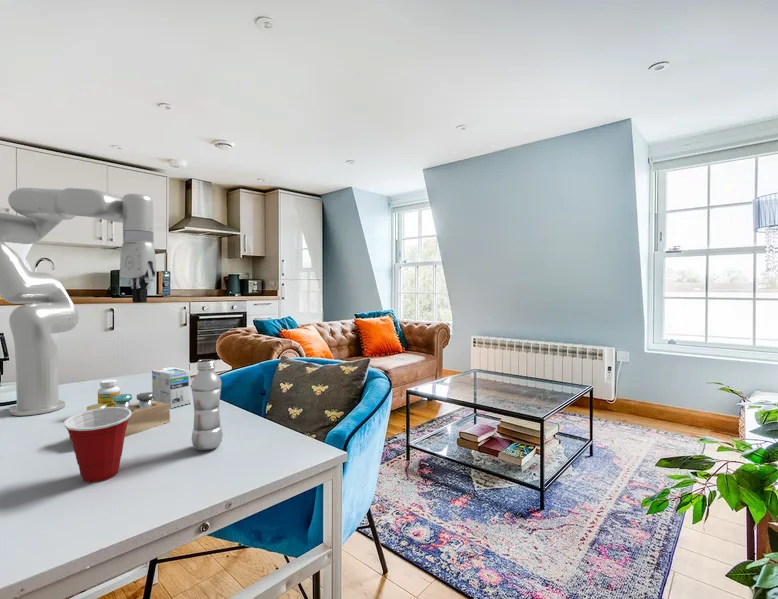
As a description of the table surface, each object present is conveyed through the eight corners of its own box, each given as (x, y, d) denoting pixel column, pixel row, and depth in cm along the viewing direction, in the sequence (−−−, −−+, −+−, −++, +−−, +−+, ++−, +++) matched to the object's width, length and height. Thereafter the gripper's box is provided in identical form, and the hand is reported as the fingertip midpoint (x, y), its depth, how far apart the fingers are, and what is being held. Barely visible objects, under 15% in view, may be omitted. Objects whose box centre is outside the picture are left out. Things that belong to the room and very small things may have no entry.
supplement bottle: (120, 410, 123) (119, 378, 122) (120, 414, 118) (120, 381, 118) (98, 413, 120) (97, 380, 119) (97, 418, 115) (96, 383, 115)
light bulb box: (191, 404, 129) (191, 369, 129) (170, 409, 123) (169, 373, 123) (172, 398, 135) (171, 366, 134) (151, 403, 129) (150, 369, 129)
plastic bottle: (192, 456, 90) (190, 364, 89) (191, 445, 96) (189, 359, 95) (224, 450, 93) (223, 362, 92) (221, 440, 99) (220, 357, 98)
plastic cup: (56, 494, 73) (54, 427, 73) (74, 469, 83) (72, 410, 83) (128, 483, 77) (126, 419, 77) (137, 460, 87) (136, 404, 87)
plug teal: (110, 426, 104) (109, 396, 103) (126, 421, 107) (125, 393, 107) (119, 429, 102) (119, 398, 102) (135, 424, 106) (135, 395, 105)
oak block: (69, 442, 98) (69, 421, 97) (150, 417, 115) (150, 400, 115) (89, 448, 94) (88, 426, 94) (169, 422, 112) (169, 403, 112)
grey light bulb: (133, 423, 109) (133, 395, 109) (148, 418, 113) (147, 391, 112) (143, 425, 107) (142, 397, 107) (158, 421, 111) (157, 393, 111)
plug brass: (83, 438, 98) (82, 407, 98) (101, 433, 102) (100, 402, 102) (93, 441, 97) (92, 409, 96) (111, 435, 100) (110, 405, 100)
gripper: (109, 238, 119) (110, 302, 119) (142, 235, 112) (143, 303, 113) (135, 241, 125) (136, 301, 126) (167, 238, 119) (168, 302, 119)
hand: (139, 302), depth 119 cm, fingers closed
